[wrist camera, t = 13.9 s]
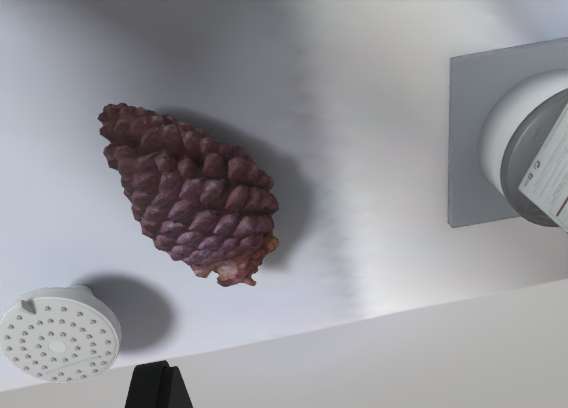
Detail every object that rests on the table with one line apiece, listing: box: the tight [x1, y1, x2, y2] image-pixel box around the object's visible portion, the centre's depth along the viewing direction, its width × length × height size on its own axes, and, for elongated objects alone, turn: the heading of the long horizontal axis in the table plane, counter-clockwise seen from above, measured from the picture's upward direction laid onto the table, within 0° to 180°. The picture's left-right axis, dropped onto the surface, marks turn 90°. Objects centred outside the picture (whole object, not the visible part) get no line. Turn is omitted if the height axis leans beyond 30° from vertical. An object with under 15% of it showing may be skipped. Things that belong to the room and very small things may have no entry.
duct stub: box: [448, 37, 568, 228], centre depth 39 cm, size 15×15×6 cm
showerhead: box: [0, 284, 122, 383], centre depth 42 cm, size 9×7×10 cm
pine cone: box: [98, 103, 279, 287], centre depth 36 cm, size 18×10×10 cm, turn 35°
